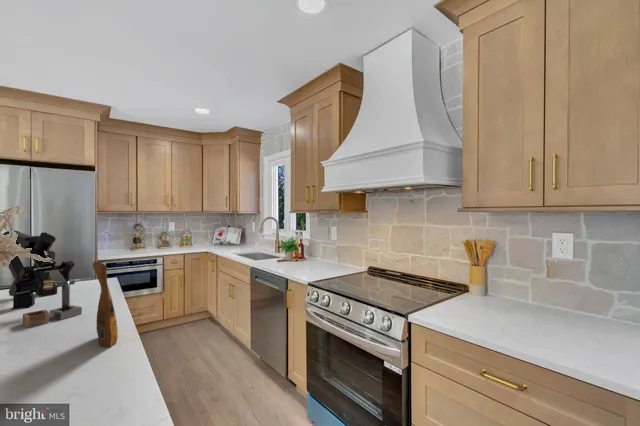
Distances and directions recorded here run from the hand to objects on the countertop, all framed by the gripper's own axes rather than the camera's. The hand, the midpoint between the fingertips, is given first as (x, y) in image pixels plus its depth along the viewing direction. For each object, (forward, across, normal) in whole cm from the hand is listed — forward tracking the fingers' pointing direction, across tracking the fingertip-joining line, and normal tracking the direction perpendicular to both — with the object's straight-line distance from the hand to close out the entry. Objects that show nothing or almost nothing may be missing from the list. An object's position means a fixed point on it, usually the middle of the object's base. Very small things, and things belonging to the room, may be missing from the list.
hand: (56, 283), depth 134 cm
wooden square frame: (+14, +10, -6) cm, 18 cm away
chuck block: (+14, 0, -5) cm, 15 cm away
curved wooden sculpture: (+44, +10, +25) cm, 52 cm away
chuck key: (+14, 0, -5) cm, 15 cm away
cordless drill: (-19, -17, -38) cm, 46 cm away
